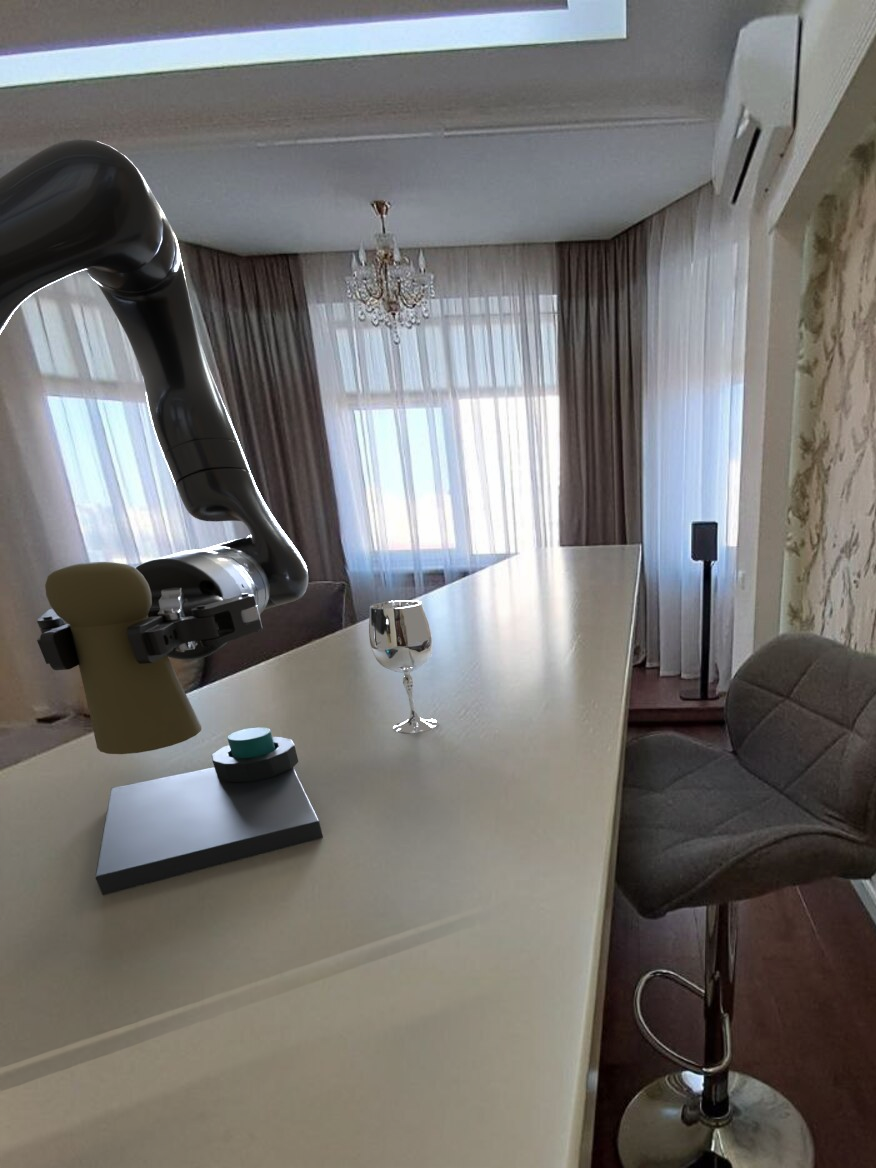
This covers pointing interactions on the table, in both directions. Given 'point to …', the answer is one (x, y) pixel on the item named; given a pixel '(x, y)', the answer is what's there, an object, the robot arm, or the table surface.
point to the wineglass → (402, 649)
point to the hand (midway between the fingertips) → (96, 649)
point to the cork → (119, 659)
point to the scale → (204, 818)
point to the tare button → (251, 742)
